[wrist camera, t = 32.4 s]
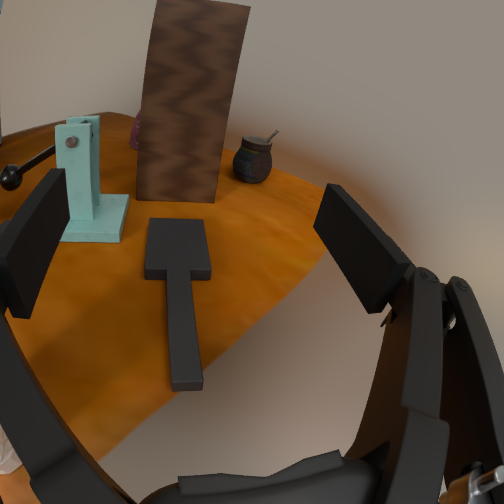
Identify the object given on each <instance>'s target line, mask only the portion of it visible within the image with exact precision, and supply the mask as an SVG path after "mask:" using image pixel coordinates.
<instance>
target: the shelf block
mask: <svg viewBox="0 0 504 504" xmlns="http://www.w3.org/2000/svg"><path fill="white" fill-rule="evenodd" d="M250 8H251V7H250V6H244V5H239V4H232V3H226V2H219V1H211V0H157V3H156V8H155V13H154V18H153V23H152V29H151V34H150V40H149V46H148V53H147V60H146V67H145V75H144V83H143V91H142V101H141V112H140V124H139V139H138V158H137V194H136V200H152V201H180V202H203V203H214V200H215V194H216V187H217V181H218V174H219V168H220V162H221V156H222V150H223V144H224V138H225V132H226V126H227V121H228V115H229V110H230V104H231V98H232V94H233V88H234V83H235V78H236V73H237V68H238V63H239V58H240V54H241V49H242V44H243V39H244V34H245V30H246V26H247V21H248V17H249V12H250Z"/></svg>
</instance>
